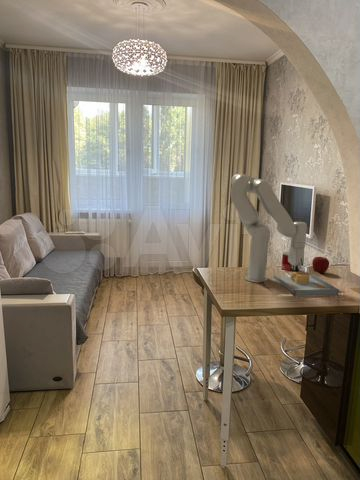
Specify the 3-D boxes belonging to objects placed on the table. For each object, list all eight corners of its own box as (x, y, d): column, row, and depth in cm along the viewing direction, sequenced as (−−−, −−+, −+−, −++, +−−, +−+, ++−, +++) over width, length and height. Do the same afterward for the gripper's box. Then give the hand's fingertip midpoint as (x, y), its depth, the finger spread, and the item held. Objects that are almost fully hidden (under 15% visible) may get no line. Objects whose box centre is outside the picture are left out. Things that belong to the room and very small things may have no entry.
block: (290, 279, 200) (291, 271, 199) (302, 279, 201) (303, 271, 201) (296, 283, 194) (297, 275, 193) (308, 283, 195) (309, 275, 194)
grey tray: (273, 279, 203) (273, 274, 203) (312, 279, 207) (312, 274, 206) (294, 296, 178) (295, 290, 177) (338, 295, 182) (338, 289, 181)
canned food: (293, 273, 217) (294, 255, 215) (279, 271, 221) (281, 253, 219) (296, 270, 224) (297, 253, 221) (282, 268, 227) (284, 251, 225)
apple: (328, 272, 223) (330, 256, 221) (327, 276, 214) (329, 259, 212) (312, 269, 226) (313, 254, 224) (310, 273, 218) (312, 257, 216)
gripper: (285, 241, 206) (282, 272, 210) (297, 247, 192) (294, 280, 195) (297, 241, 207) (294, 272, 211) (311, 247, 193) (307, 280, 196)
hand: (294, 276), depth 203 cm, fingers closed
